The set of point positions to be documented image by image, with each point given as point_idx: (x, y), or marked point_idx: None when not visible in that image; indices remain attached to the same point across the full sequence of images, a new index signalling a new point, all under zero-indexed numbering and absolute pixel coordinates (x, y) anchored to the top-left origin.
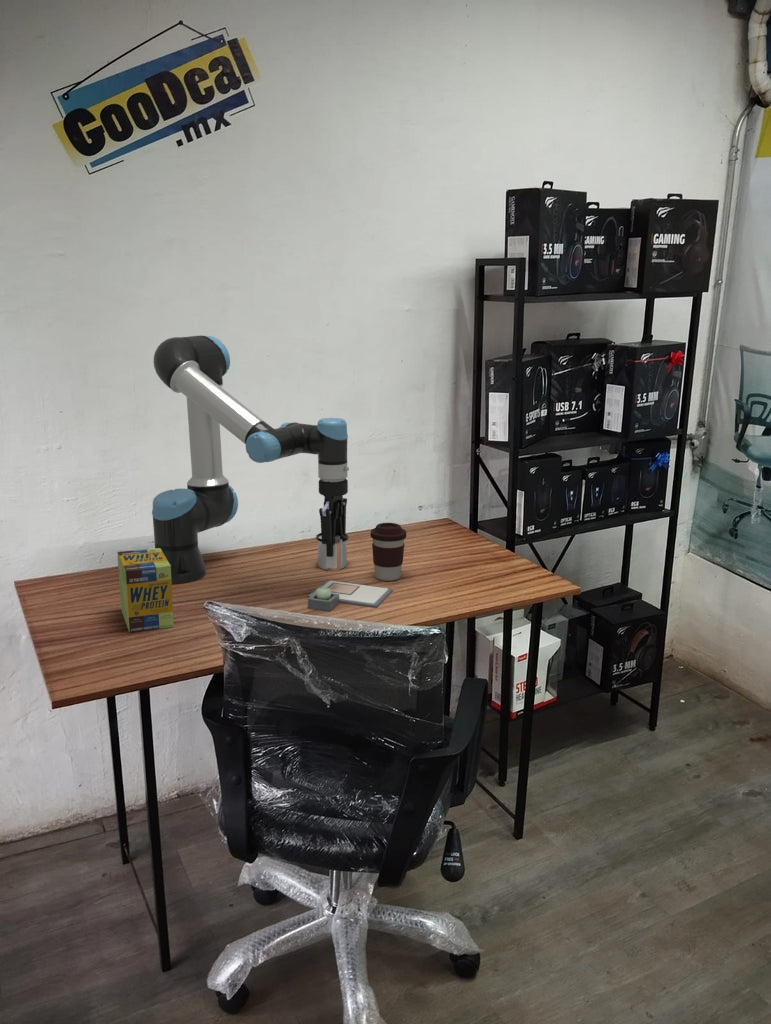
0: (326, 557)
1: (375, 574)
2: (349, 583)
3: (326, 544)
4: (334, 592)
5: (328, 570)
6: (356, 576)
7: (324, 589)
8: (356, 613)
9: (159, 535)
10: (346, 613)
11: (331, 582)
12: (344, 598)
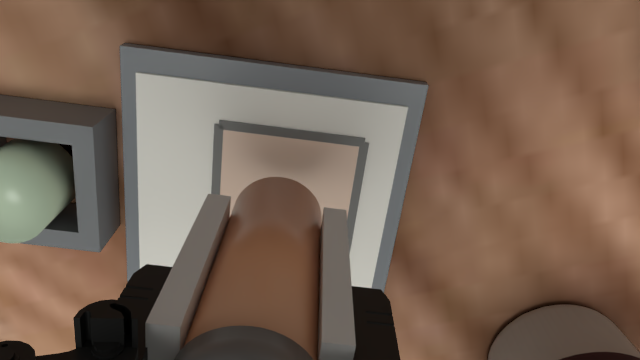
0: (187, 239)
1: (531, 322)
2: (381, 224)
3: (72, 355)
4: (211, 185)
5: (246, 187)
6: (550, 215)
7: (10, 206)
8: (37, 319)
9: None
10: (15, 282)
11: (375, 125)
12: (150, 250)
